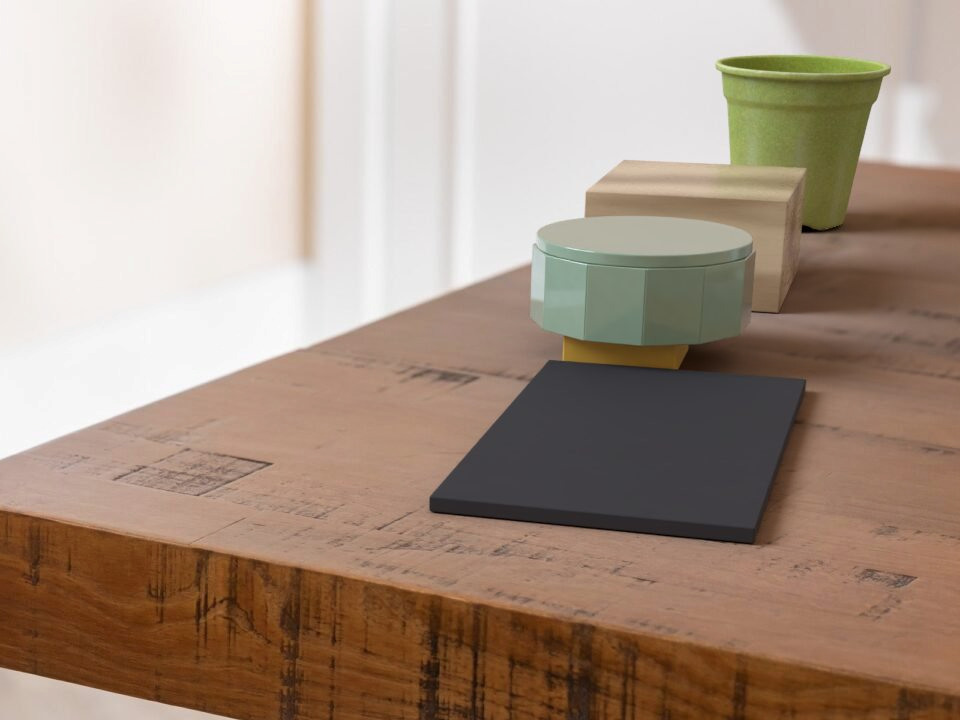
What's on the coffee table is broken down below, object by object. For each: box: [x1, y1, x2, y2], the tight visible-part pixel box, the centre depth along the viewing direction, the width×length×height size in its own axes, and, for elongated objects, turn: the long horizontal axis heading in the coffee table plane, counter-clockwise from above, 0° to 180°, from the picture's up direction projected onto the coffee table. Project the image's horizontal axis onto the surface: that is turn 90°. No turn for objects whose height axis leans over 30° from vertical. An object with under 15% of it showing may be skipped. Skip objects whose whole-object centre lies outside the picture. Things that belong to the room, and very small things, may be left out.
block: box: [561, 335, 689, 369], centre depth 75 cm, size 4×4×4 cm
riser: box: [583, 159, 807, 314], centre depth 89 cm, size 10×9×5 cm
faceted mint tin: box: [529, 216, 756, 346], centre depth 75 cm, size 9×9×4 cm
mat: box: [428, 359, 807, 544], centre depth 65 cm, size 18×10×1 cm, turn 163°
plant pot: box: [714, 54, 892, 230], centre depth 103 cm, size 9×9×9 cm
